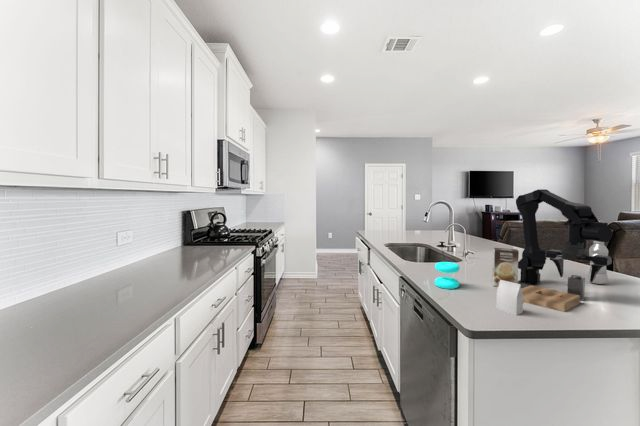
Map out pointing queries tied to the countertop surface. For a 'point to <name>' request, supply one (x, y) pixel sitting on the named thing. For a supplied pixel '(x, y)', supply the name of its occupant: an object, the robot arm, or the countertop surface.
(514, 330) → the countertop surface
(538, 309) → the countertop surface
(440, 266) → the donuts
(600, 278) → the plastic bottle
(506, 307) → the white upright block
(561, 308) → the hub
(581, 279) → the peg
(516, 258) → the coffee box
